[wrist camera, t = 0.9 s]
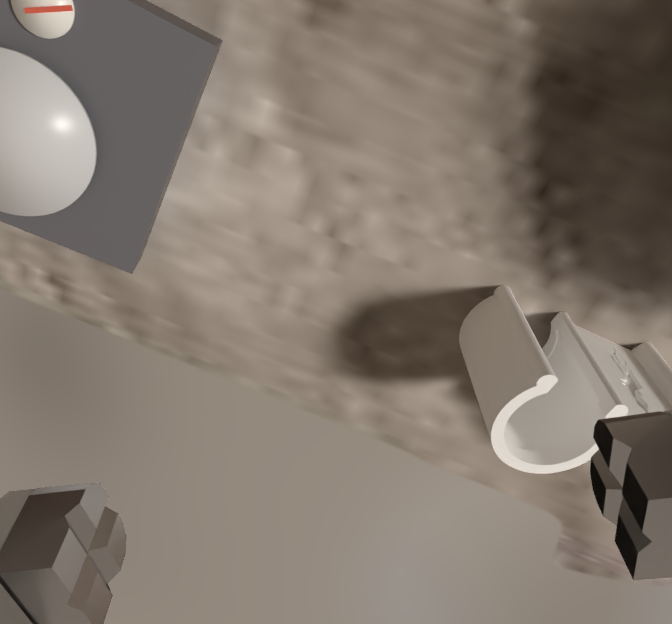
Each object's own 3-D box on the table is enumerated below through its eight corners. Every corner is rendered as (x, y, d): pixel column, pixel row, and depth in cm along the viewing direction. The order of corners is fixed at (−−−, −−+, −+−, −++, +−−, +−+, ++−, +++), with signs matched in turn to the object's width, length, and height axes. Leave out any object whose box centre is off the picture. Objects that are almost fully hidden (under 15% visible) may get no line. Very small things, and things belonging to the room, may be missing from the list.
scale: (-107, -132, 34) (-150, -139, 31) (222, 40, 39) (213, 50, 36) (-132, 146, 43) (-169, 163, 40) (140, 258, 48) (127, 281, 45)
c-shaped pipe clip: (436, 357, 54) (461, 457, 43) (497, 271, 49) (542, 361, 39) (649, 443, 60) (715, 549, 50) (721, 374, 55) (811, 475, 45)
